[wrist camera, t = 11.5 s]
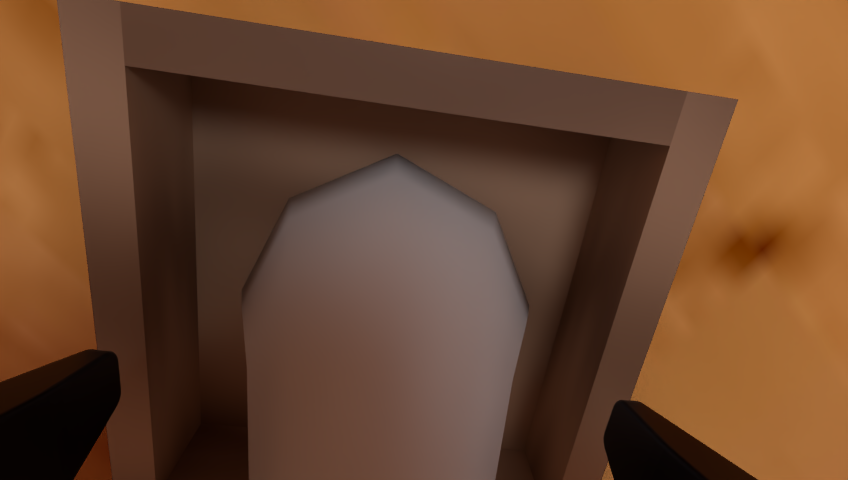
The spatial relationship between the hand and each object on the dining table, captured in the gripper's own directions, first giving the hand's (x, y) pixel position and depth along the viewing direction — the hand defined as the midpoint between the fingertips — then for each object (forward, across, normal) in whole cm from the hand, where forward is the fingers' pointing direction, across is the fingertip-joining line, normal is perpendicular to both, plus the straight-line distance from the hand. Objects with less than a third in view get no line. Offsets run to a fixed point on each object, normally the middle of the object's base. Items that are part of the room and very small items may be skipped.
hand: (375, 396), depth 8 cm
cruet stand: (+5, 0, +6) cm, 8 cm away
